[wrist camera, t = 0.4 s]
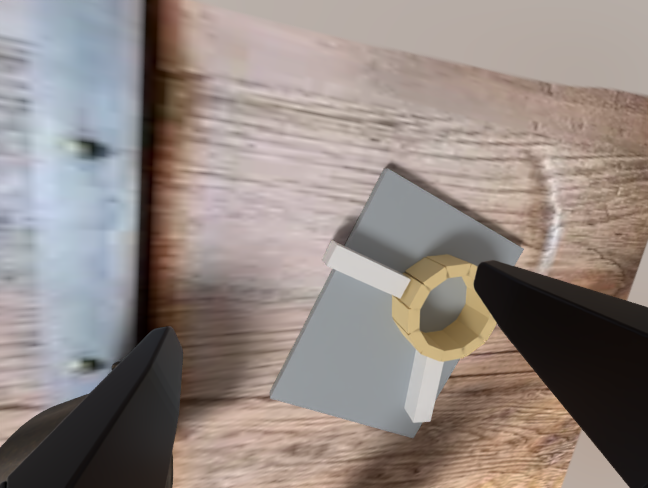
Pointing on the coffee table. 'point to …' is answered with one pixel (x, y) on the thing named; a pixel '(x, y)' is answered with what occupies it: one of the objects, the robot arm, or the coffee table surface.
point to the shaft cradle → (393, 311)
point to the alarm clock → (42, 437)
